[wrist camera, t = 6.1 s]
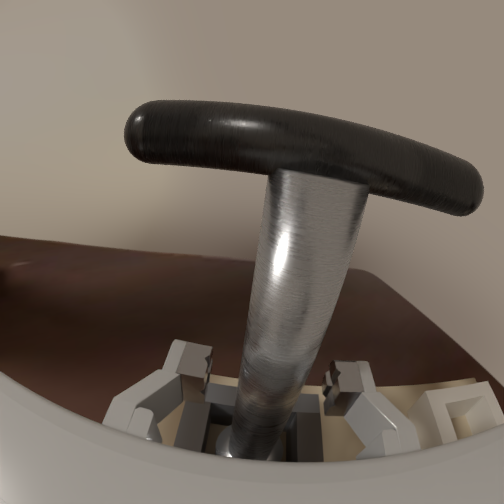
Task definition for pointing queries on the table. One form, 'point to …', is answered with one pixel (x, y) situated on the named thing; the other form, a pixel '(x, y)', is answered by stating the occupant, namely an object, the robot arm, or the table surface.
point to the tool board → (289, 421)
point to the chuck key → (296, 228)
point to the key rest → (454, 412)
